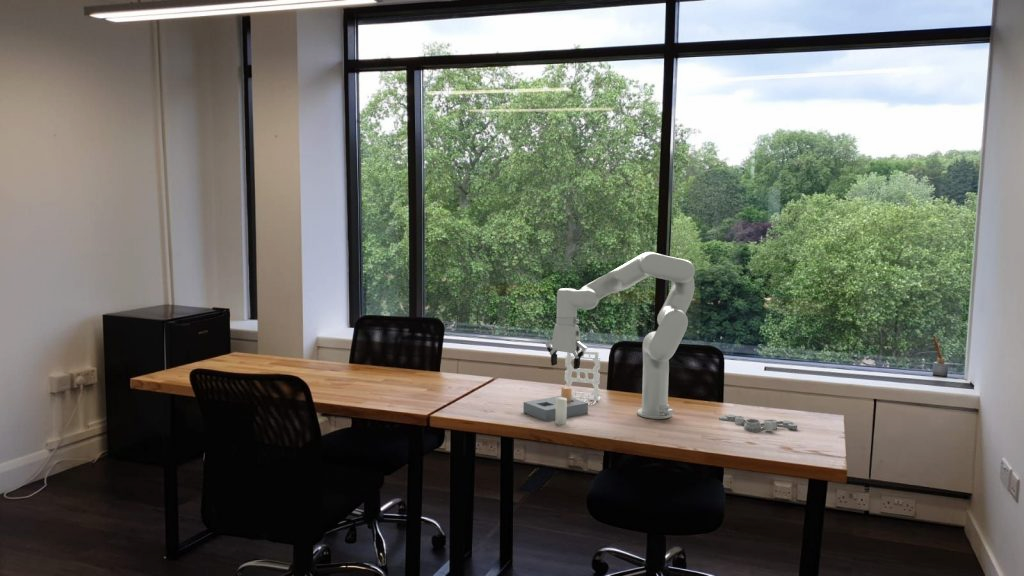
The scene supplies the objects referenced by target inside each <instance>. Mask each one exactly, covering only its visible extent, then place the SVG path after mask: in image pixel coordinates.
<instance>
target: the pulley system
mask: <svg viewBox="0 0 1024 576" xmlns="http://www.w3.org/2000/svg"><path fill="white" fill-rule="evenodd" d="M718 419H719V421H724V422H725V421H726V422H731V423H733V422H734V424H736V425H741V426H742V425H743V429H744V430H745V431H747V432H755V433H756V432H757V433H758V432H761V431H764V430H765V431H772V430H777V428H782V429H783V428H784V429H790V430H791V431H792V430H793V431H795V430H796V429H798V424H796V423H794V421H793V422H792V421H791V420H782V421H781V420H780V421H777V420H776V419H766V420H764V421H763V423H761V421H760V420H759V419H755V418H748V419H747V418H746V419H744V416H740V415H735V414H727V415H719V417H718Z"/></svg>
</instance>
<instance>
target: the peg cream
mask: <svg viewBox="0 0 1024 576" xmlns="http://www.w3.org/2000/svg"><path fill="white" fill-rule="evenodd" d="M557 397H558V396H557ZM567 418H568V417H567V398H564V397H558V398H556V410H555V419H554V422H555V423H554V424H555V425H559V426H562V425H563V426H564V425H566V424H567Z"/></svg>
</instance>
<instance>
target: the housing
mask: <svg viewBox="0 0 1024 576" xmlns="http://www.w3.org/2000/svg"><path fill="white" fill-rule="evenodd" d="M558 397H561V395H558V396H552V397H547V398H546V397H545V398H540V399H535V400H534V399H533V400H527V401H523V408H522V409H523V413H524V414H526V413H527V415H530V416H532V417H534V418H537V419H539V420H542V421H545V422H549V421H553V420H554V421H555V410H556V398H558ZM588 403H589V402H588V401H587V402H584V401H581V400H578V399H574V398H572V402H568V403H567V418H569V417H570V416H571V417H575V415H576V416H580V414H582V415H586V414H585V413H587V414H589V405H588Z"/></svg>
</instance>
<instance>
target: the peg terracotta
mask: <svg viewBox="0 0 1024 576" xmlns="http://www.w3.org/2000/svg"><path fill="white" fill-rule="evenodd" d="M560 390H561V391H560V393H561V394H560V396H561V397H564V398H567V403H568V402H572V396H573V395H572V392H573V388H572V386H571V387H565V386H561V388H560Z"/></svg>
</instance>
